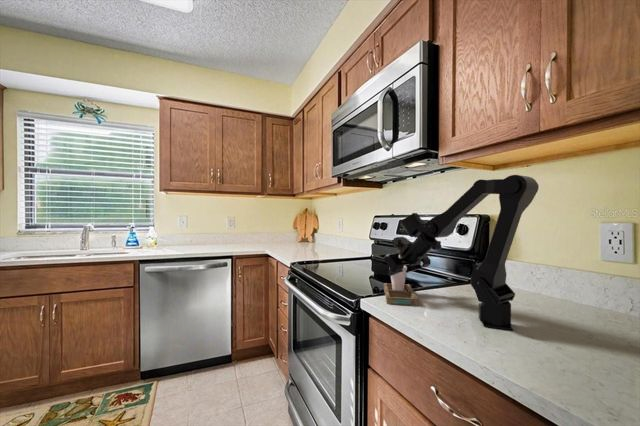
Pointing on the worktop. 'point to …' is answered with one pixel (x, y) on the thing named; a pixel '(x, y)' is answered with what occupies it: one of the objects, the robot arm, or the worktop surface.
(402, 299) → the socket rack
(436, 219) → the robot arm
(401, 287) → the smoothie
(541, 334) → the worktop surface
